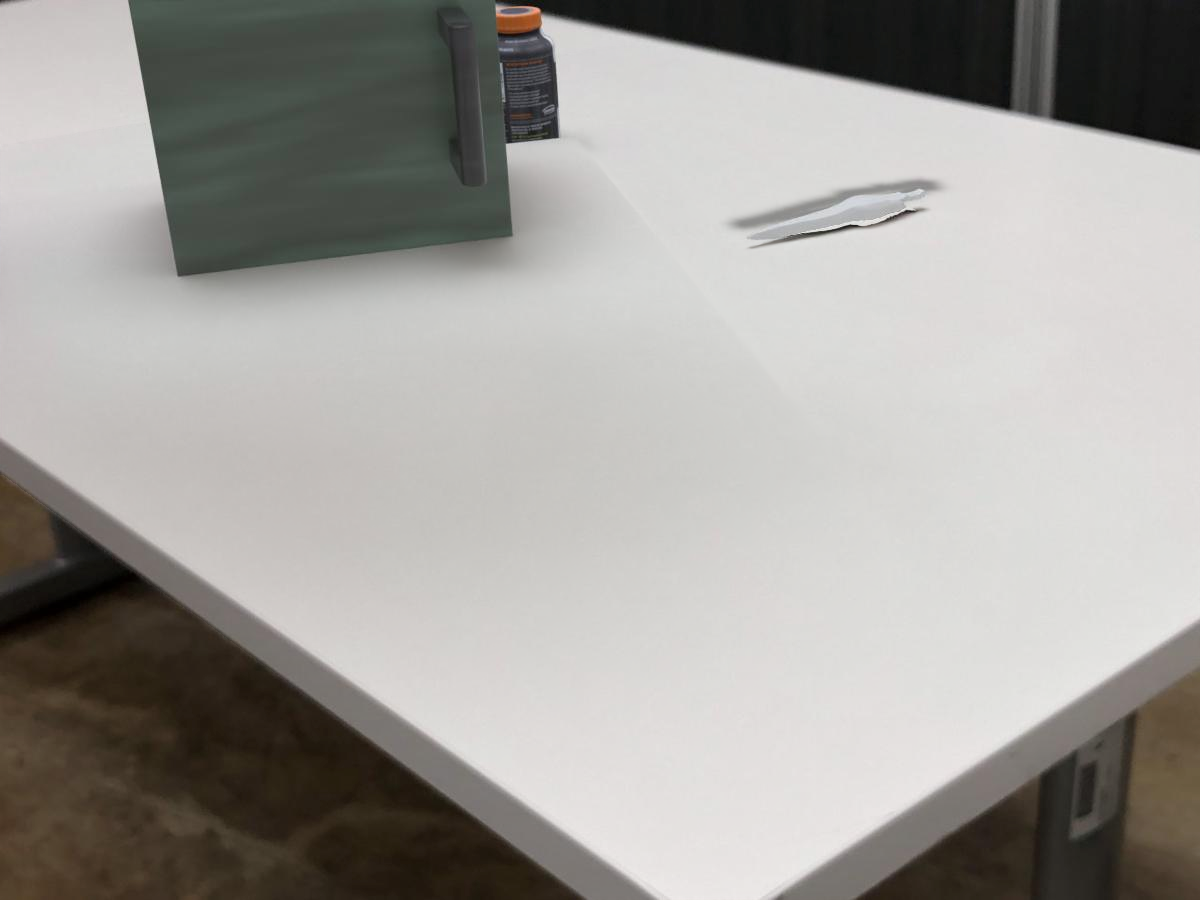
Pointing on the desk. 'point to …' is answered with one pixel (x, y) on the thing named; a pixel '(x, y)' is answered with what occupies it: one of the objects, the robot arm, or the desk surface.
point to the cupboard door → (323, 126)
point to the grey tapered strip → (841, 214)
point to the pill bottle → (527, 76)
